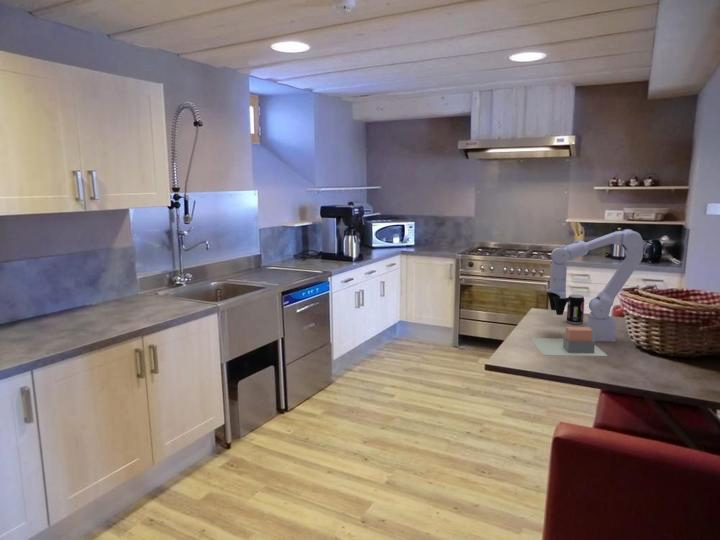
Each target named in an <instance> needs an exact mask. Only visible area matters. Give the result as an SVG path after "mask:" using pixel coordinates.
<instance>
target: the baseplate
mask: <svg viewBox="0 0 720 540" xmlns="http://www.w3.org/2000/svg"><path fill="white" fill-rule="evenodd" d="M529 338H530V337H529ZM530 340H531V342H532V344H534V346H535V347H536V348H537V350H538V351H539V352H540V353H541V354H542V355H543V356H586V357H589V356H591V357H594V356H595V357H599V356H600V357H602V356H603V357H608V355H607V354H606V353H605V352H604V351H602V349H600V348H599V347H598V346H597V345H596V344H595V348H594V353H569V352H567V351H566V350H565V349H564V348H563V340H564V338H557V337H555V338H553V337H550V338H549V337H546V338H542V337H541V338H539V337H536V338H535V337H532V338H530Z"/></svg>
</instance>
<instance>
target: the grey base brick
mask: <svg viewBox="0 0 720 540" xmlns="http://www.w3.org/2000/svg"><path fill="white" fill-rule="evenodd" d="M563 339H564V340H563V348H564V349H565V350H566V351H567V352H569V353H594V348H595V345H596V341H593V340H592V341H569V340H568V339H566V338H565V336H563Z"/></svg>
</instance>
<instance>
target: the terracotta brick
mask: <svg viewBox="0 0 720 540" xmlns="http://www.w3.org/2000/svg"><path fill="white" fill-rule="evenodd" d="M564 337H565V338H566V339H568V340H569V341H592V338H593V330H592V329H590V328H589V327H588V326H566V327H565V336H564Z"/></svg>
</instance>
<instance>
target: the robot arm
mask: <svg viewBox="0 0 720 540" xmlns="http://www.w3.org/2000/svg"><path fill="white" fill-rule="evenodd" d="M644 244H645V243H644V240H643V238H642V235H641V233H639V232H638V231H634V230H633V229H630V228H626V229H623V230H616V231H614V232H611V233H608V234H605V235H602V236H599V237H597V238H595V239H591V240H589V241H587V242H586V241H583V240H578V239H577V240H574V242H573V243H570V244H567V245H566V244H563V245H561V247H555V248H554V249H553V250H552V251H551V253H550V257H551V259H552V261H551V267H550V283H549V286H550V287H549V288H547V289H546V291H547V292H546V295H547V297H548V300H549V304H550V305H549V306H550V310H551V311H555V313H556V315H557V316H563V315H564V311H565V308H566V307H567V305H568V301H569V298H568V297H567V288H566V287H567V271H568V269H567V263H568V261H569V260H570V261H571V260H574V259H577V258H580V257H583V256H586V255H587V254H588V253H589V252H590V251H591V250H595V249H598V248H601V247H605V246H608V245H617V246H622V248H623V251H624V253H625V258H624V259H623V261H622V262H621V264H620V265H619V267H617V269H616V270H615V272H614V274H613V275H612V277H611V278H610V280H609V281H608V282H607V284H606V285H605V287H603V289H602V291H600V292H599V293H598V294H597V295H596V296H595V297H593V298H591V300H590V301H589V303H588V308H589V310H590V312H589V314H588V319H587V320H588V321H587V323H588V324H587V327H589V328H590V329H592V330H593V338H592V340H593V341H594V342H616V341H617V340H616V335H617V334H616V333H617V322H616V319H615V317H613V316H609V315H610V314H611V313H610V312H611V308H612V306H613V305H614V302H615V298H616V297H617V296H618V294H619V293H620V291H621V290H622V289H623V287H624V286H625V284H626V283H627V281H629V279H630V277H631V276H632V274H633V273H634V271H635V270H636V269H637V268H638V266H639V265H640V263H641V262H642V260H643V258H644V257H643V255H644V253H643V251H644V248H643V247H644Z"/></svg>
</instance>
